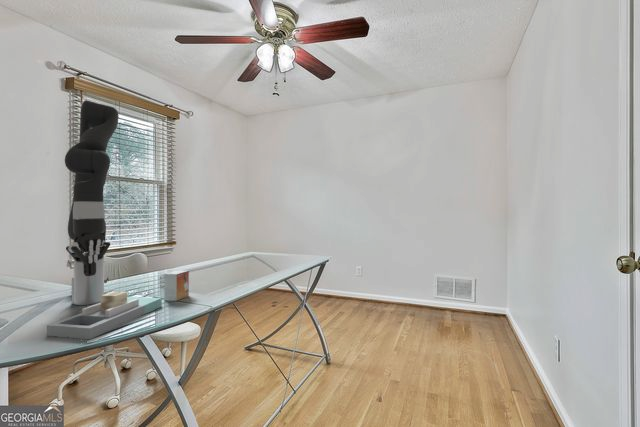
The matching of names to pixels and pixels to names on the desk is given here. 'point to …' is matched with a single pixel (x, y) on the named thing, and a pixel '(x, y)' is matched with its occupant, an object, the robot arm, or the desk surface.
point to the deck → (102, 318)
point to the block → (113, 299)
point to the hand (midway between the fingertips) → (89, 275)
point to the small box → (176, 285)
